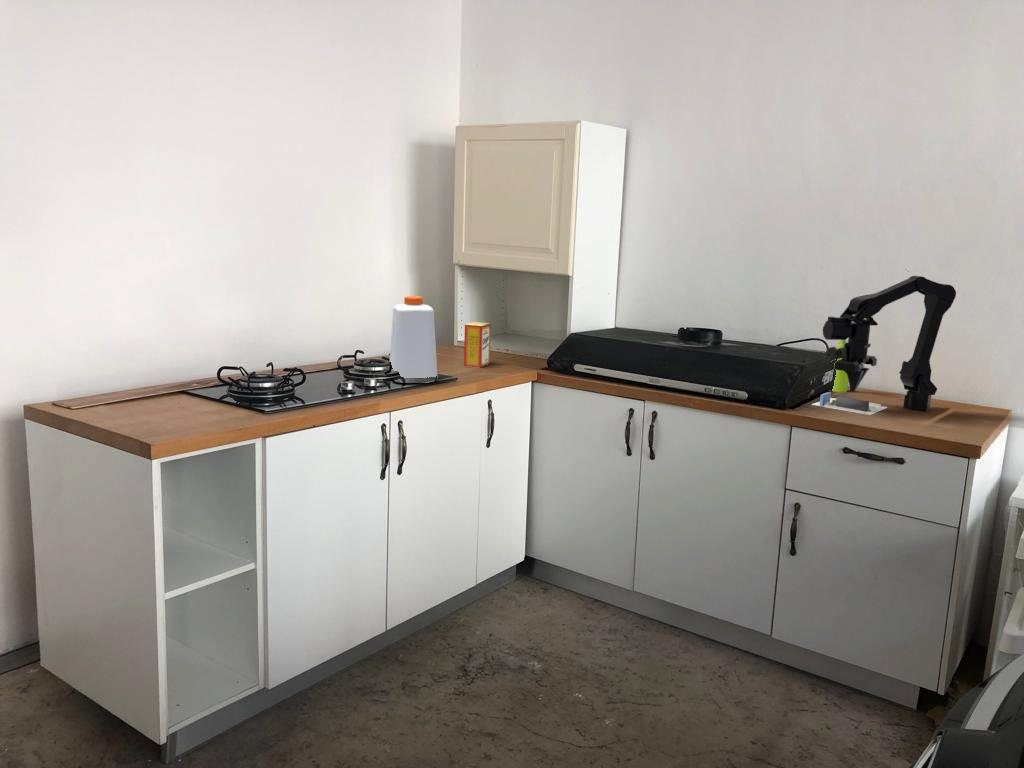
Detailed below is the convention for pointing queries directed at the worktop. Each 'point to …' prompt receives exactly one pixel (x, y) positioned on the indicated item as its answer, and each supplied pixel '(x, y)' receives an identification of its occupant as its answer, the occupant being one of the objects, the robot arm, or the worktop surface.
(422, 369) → the plastic bottle
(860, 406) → the dark grey bar
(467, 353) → the baking soda box
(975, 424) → the worktop surface
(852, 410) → the board
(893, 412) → the worktop surface
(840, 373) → the soap dispenser
